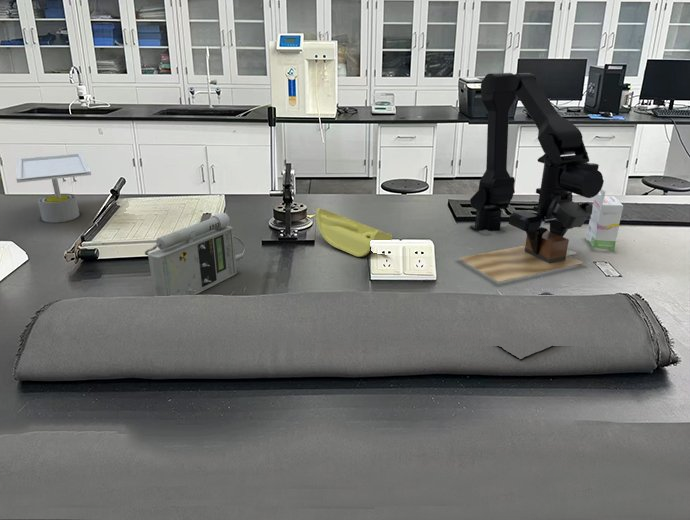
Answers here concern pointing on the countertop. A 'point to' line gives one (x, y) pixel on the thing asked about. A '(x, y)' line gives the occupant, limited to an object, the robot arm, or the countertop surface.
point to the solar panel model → (54, 182)
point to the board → (513, 263)
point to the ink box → (604, 221)
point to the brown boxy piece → (550, 247)
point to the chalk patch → (570, 253)
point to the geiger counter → (194, 257)
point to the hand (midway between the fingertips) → (544, 252)
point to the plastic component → (348, 233)
